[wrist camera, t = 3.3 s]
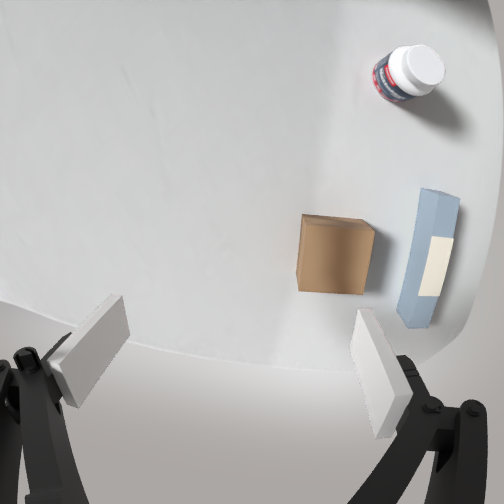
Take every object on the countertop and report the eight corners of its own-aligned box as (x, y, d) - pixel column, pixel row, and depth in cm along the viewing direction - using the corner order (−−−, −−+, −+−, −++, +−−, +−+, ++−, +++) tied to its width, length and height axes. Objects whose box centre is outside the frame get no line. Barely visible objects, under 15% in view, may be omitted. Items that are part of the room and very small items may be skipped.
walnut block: (296, 272, 36) (298, 291, 31) (302, 213, 33) (306, 224, 29) (352, 275, 35) (362, 294, 30) (362, 219, 33) (375, 231, 28)
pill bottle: (361, 75, 27) (388, 54, 19) (390, 52, 26) (422, 28, 17) (393, 111, 28) (429, 102, 20) (420, 87, 27) (459, 73, 18)
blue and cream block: (396, 310, 36) (408, 329, 32) (420, 188, 31) (439, 194, 26) (415, 310, 36) (428, 328, 31) (440, 191, 30) (460, 198, 26)
